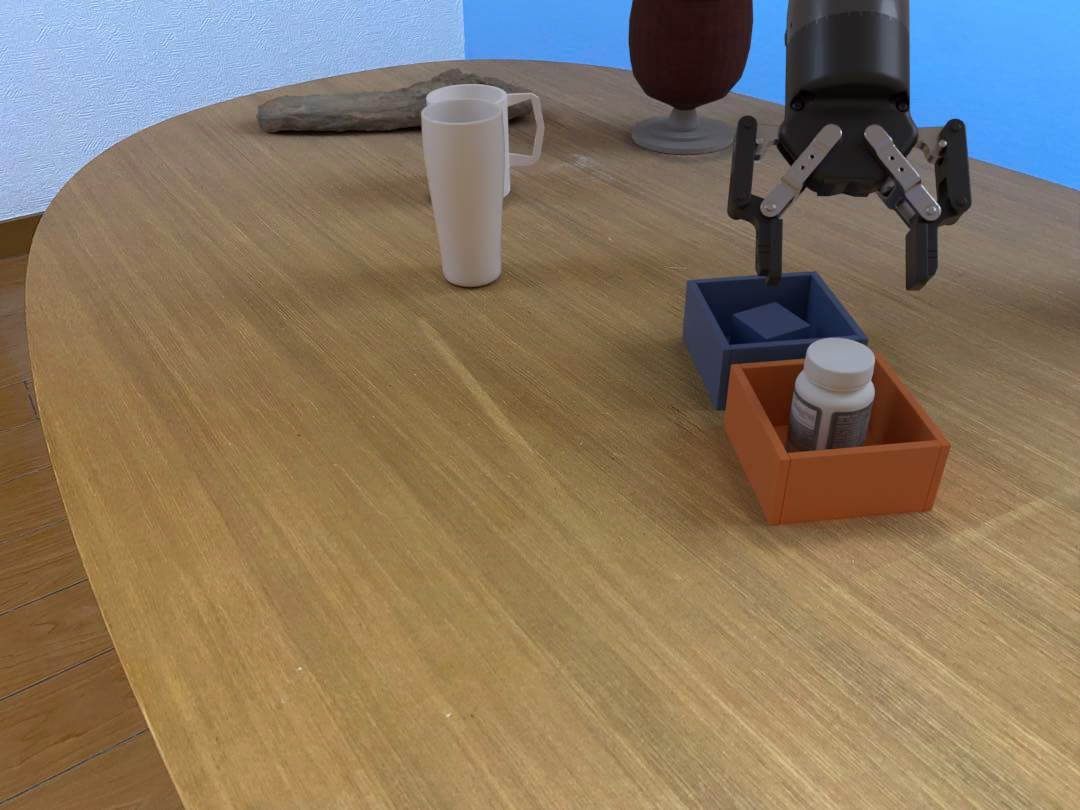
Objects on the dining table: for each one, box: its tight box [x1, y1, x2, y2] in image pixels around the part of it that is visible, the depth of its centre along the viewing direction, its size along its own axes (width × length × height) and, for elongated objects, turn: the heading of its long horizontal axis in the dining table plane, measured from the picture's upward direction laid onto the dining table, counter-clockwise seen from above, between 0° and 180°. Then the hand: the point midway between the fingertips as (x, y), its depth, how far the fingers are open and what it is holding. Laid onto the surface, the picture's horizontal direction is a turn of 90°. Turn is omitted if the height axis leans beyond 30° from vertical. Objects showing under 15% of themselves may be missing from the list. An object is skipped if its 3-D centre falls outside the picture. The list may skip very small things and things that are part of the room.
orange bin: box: [723, 352, 952, 527], centre depth 60 cm, size 10×10×6 cm
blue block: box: [729, 302, 810, 345], centre depth 69 cm, size 4×4×4 cm
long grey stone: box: [255, 67, 534, 133], centre depth 119 cm, size 35×5×10 cm
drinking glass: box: [420, 98, 505, 288], centre depth 80 cm, size 7×7×15 cm
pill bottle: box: [785, 338, 875, 454], centre depth 59 cm, size 5×5×8 cm
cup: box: [426, 84, 546, 198], centre depth 98 cm, size 8×12×10 cm
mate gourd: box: [627, 0, 754, 156], centre depth 108 cm, size 16×14×20 cm
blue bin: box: [681, 270, 869, 411], centre depth 69 cm, size 10×10×6 cm
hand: (844, 285), depth 57 cm, fingers open, 8 cm apart
